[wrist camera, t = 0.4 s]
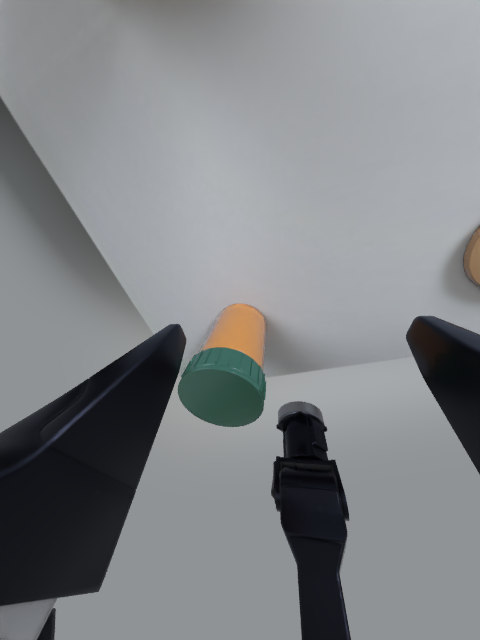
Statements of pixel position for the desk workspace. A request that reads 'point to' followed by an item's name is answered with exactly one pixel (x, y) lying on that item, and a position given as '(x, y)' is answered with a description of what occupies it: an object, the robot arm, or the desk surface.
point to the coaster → (473, 258)
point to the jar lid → (223, 387)
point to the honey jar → (239, 331)
